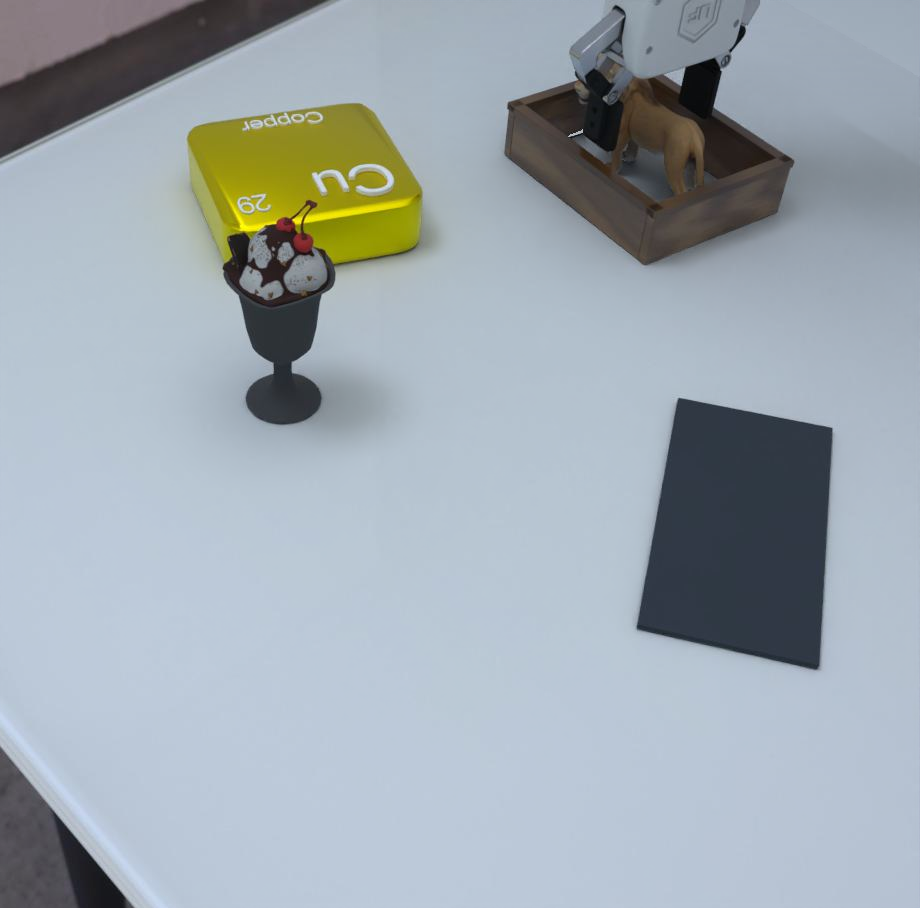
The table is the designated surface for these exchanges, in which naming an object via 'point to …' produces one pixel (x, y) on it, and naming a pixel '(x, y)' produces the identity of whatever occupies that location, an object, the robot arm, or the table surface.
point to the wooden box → (621, 203)
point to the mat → (741, 534)
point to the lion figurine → (655, 134)
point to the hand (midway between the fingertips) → (647, 126)
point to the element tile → (308, 180)
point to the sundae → (280, 311)
